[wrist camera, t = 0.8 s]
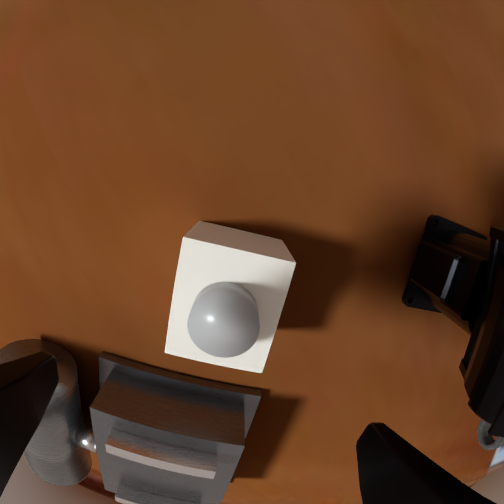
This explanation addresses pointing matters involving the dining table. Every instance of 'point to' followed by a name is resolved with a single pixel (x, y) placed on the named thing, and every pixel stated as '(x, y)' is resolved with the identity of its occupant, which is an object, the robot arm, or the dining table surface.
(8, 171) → the dining table surface
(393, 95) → the dining table surface
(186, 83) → the dining table surface
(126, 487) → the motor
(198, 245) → the white knobbed block
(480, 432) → the tankard
